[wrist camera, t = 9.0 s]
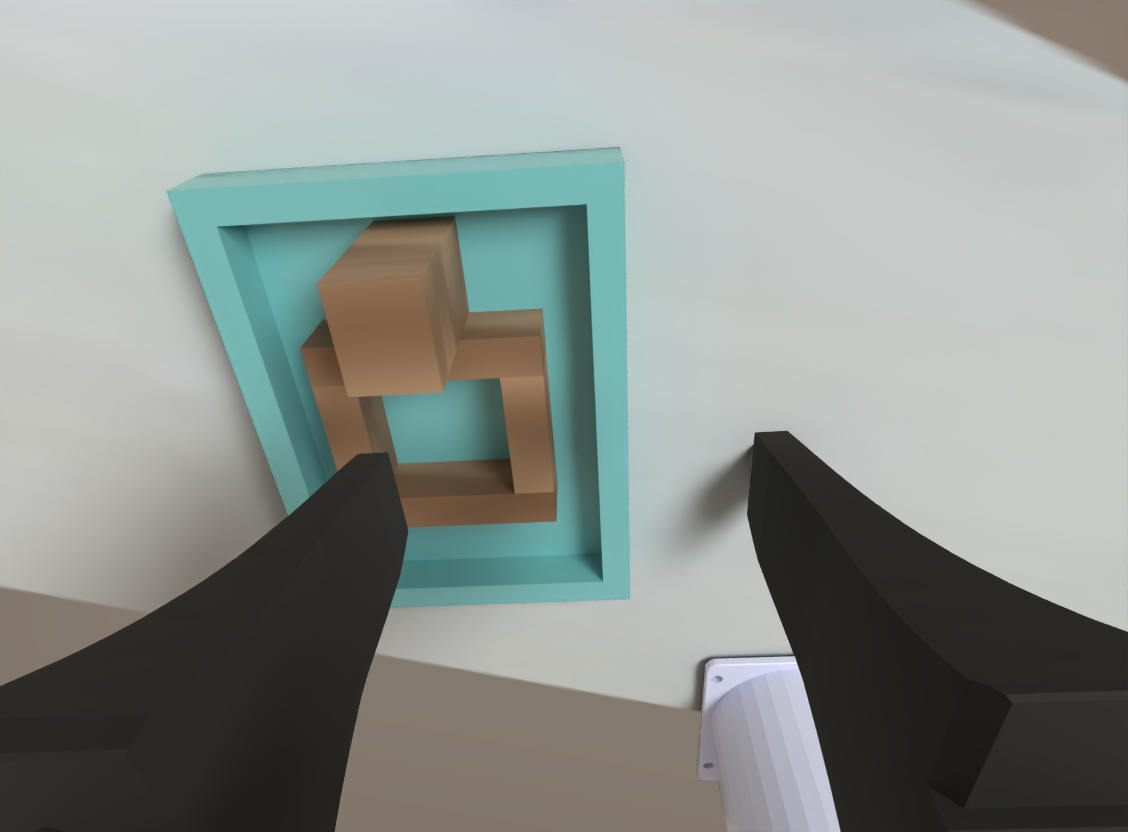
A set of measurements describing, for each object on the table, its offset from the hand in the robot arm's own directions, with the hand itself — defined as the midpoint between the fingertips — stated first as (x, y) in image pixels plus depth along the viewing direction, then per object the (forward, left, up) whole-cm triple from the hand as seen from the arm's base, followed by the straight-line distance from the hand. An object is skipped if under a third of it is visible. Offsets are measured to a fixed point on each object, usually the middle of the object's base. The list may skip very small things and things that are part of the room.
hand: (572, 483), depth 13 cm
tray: (-3, +4, -9) cm, 11 cm away
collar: (-2, +4, -9) cm, 10 cm away
